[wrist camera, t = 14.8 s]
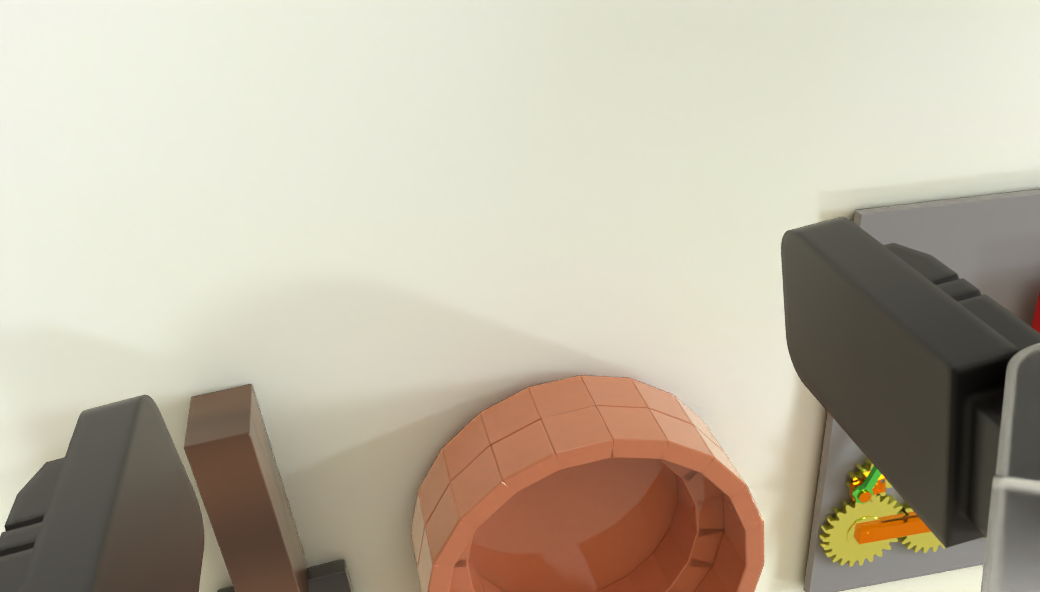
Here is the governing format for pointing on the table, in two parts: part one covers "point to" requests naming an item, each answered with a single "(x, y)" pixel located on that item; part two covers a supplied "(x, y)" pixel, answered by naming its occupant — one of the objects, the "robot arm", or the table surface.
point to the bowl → (586, 498)
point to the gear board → (844, 467)
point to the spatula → (250, 498)
